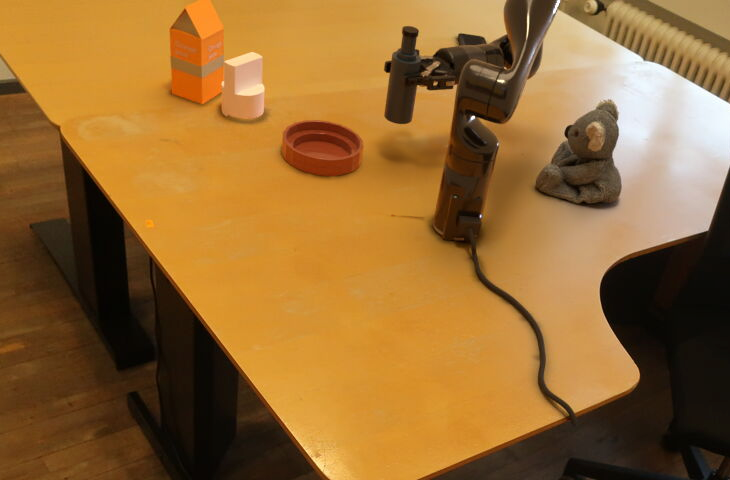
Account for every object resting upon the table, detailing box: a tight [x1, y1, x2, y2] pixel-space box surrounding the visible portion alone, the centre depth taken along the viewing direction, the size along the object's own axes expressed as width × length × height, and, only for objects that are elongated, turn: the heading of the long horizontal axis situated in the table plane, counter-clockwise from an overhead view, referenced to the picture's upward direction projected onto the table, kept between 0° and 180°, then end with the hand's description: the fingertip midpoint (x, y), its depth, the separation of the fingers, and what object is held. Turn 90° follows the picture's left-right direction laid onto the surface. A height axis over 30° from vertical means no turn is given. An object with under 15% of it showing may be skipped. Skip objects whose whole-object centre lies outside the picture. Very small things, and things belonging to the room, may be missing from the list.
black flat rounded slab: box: [457, 32, 488, 46], centre depth 235 cm, size 8×1×15 cm
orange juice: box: [169, 0, 225, 105], centre depth 180 cm, size 8×9×20 cm
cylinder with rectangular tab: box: [221, 51, 266, 120], centre depth 180 cm, size 9×9×12 cm
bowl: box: [281, 119, 364, 177], centre depth 173 cm, size 16×16×4 cm
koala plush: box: [535, 98, 623, 204], centre depth 180 cm, size 17×18×20 cm
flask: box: [383, 25, 421, 125], centre depth 167 cm, size 6×6×18 cm
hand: (394, 74), depth 166 cm, fingers closed on flask, 6 cm apart
